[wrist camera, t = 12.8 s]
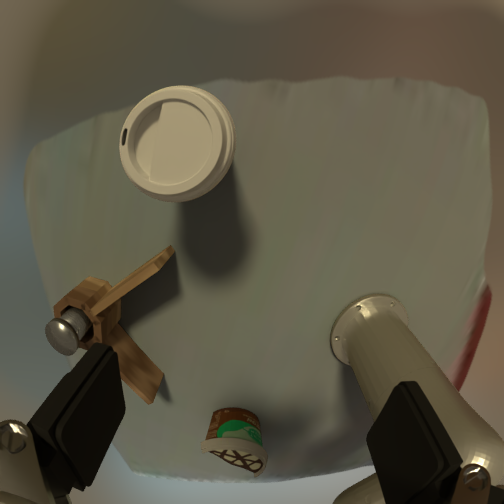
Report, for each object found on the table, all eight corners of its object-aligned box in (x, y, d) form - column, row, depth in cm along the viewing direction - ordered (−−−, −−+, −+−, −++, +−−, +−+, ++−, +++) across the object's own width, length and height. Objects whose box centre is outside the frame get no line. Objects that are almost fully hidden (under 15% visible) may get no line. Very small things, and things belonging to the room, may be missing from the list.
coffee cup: (192, 98, 32) (152, 60, 18) (258, 137, 33) (260, 118, 19) (151, 163, 34) (90, 167, 20) (215, 202, 36) (188, 230, 21)
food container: (280, 423, 47) (284, 466, 38) (256, 437, 49) (257, 478, 39) (230, 392, 45) (225, 438, 35) (206, 408, 46) (199, 451, 36)
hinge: (240, 336, 41) (237, 366, 35) (145, 382, 44) (133, 410, 38) (155, 223, 37) (135, 236, 30) (69, 293, 40) (46, 313, 33)
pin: (116, 307, 40) (82, 347, 30) (97, 320, 41) (63, 360, 31) (96, 280, 39) (56, 315, 29) (78, 295, 40) (39, 330, 29)
